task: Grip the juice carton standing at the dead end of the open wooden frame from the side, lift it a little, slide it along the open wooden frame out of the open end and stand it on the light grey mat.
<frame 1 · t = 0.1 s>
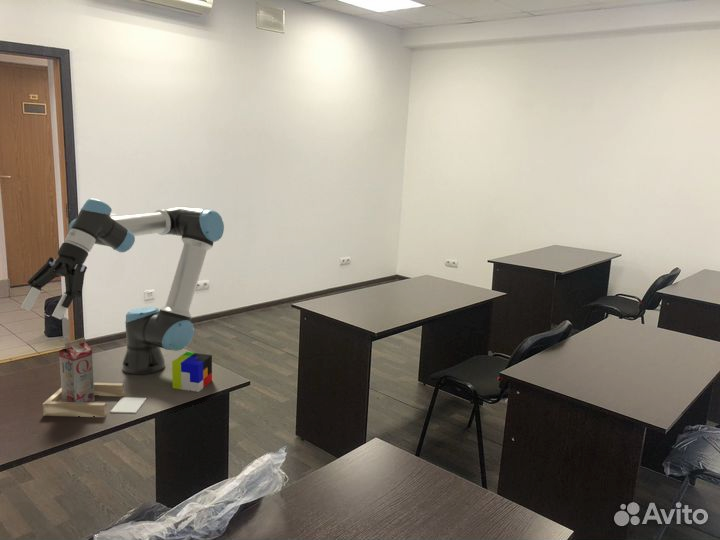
hand: (40, 313, 152), 36 cm above the table, tool tilted 35°, fingers open, 13 cm apart
juice carton: (78, 404, 175), resting in open wooden frame
mat: (129, 405, 176), on the table
open wooden frame: (78, 404, 175), on the table
puzzle toy: (192, 384, 195), on the table
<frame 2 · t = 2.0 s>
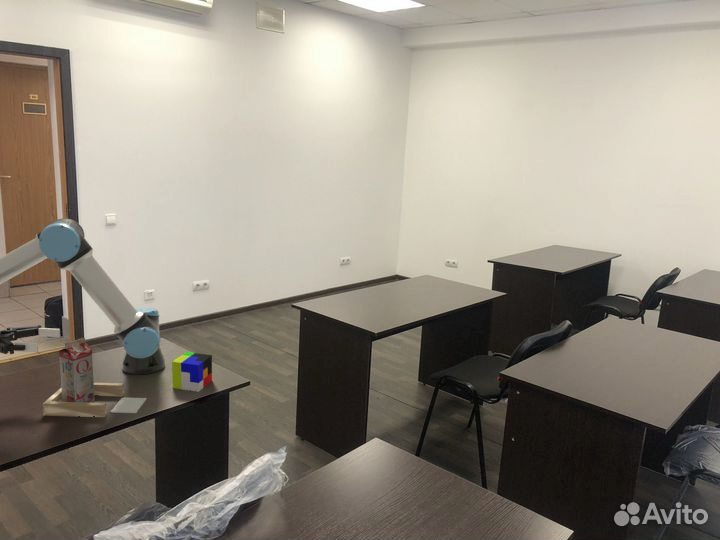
hand: (49, 339, 172), 21 cm above the table, tool horizontal, fingers open, 13 cm apart
nothing on the table moved.
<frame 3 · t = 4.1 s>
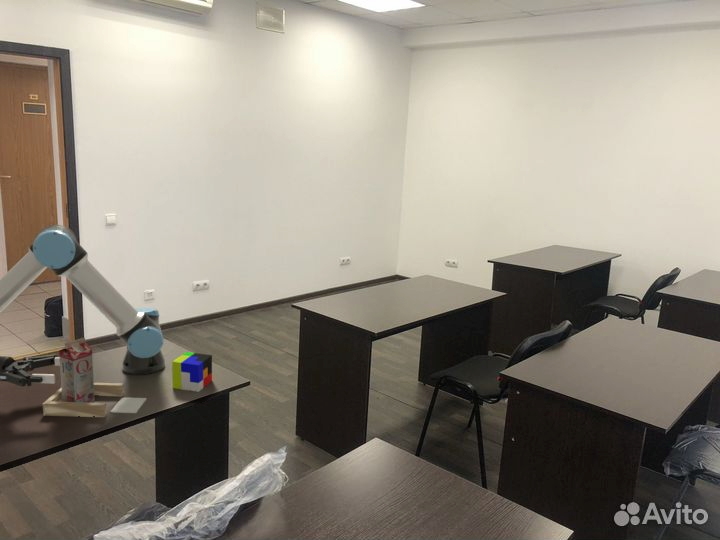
hand: (65, 370, 172), 12 cm above the table, tool horizontal, fingers open, 13 cm apart
nothing on the table moved.
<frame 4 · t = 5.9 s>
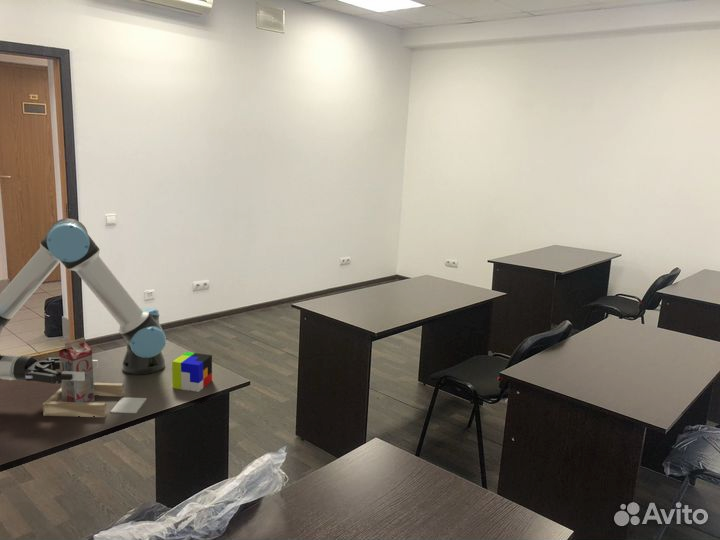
hand: (91, 370, 173), 12 cm above the table, tool horizontal, fingers closed on juice carton, 9 cm apart
juice carton: (78, 404, 175), resting in open wooden frame, touching gripper
everything else where it was.
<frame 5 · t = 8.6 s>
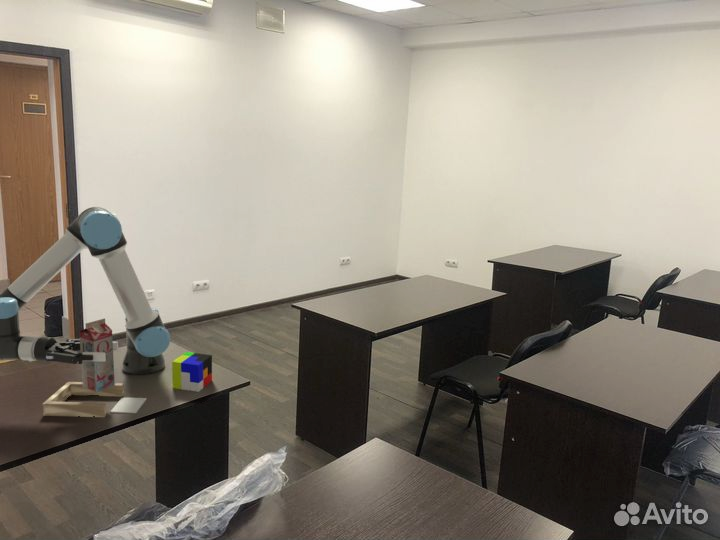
hand: (111, 351, 171), 19 cm above the table, tool horizontal, fingers closed on juice carton, 9 cm apart
juice carton: (98, 386, 173), point 7 cm above the table, touching gripper
everything else where it was.
when the fingers open (13 cm above the table, at t = 11.4 s): juice carton stays where it is, resting on mat.
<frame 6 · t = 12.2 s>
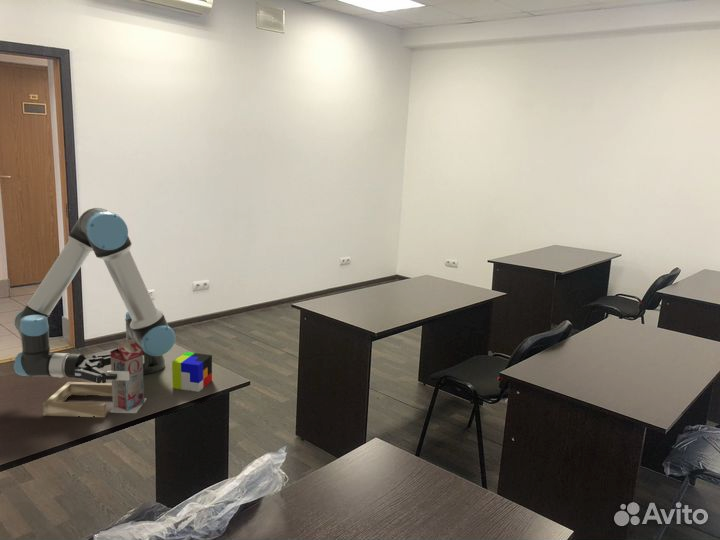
hand: (136, 367, 174), 13 cm above the table, tool horizontal, fingers open, 13 cm apart
juice carton: (128, 405, 176), resting on mat
everything else where it was.
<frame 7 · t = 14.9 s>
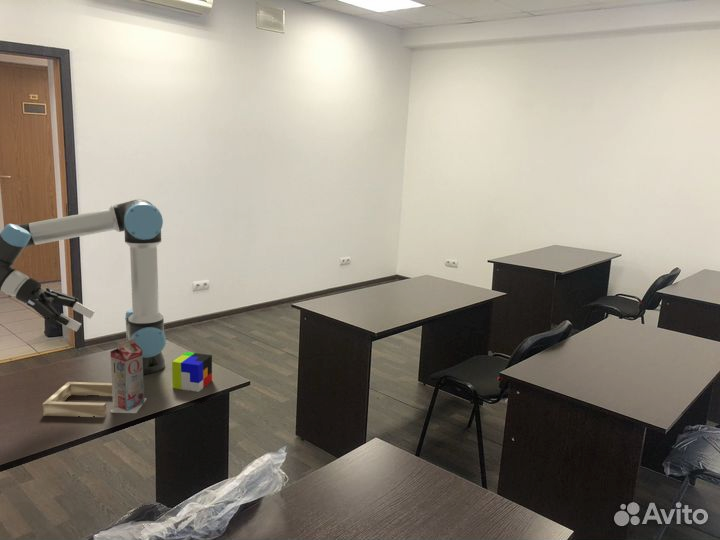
hand: (86, 321, 174), 27 cm above the table, tool tilted 60°, fingers open, 13 cm apart
nothing on the table moved.
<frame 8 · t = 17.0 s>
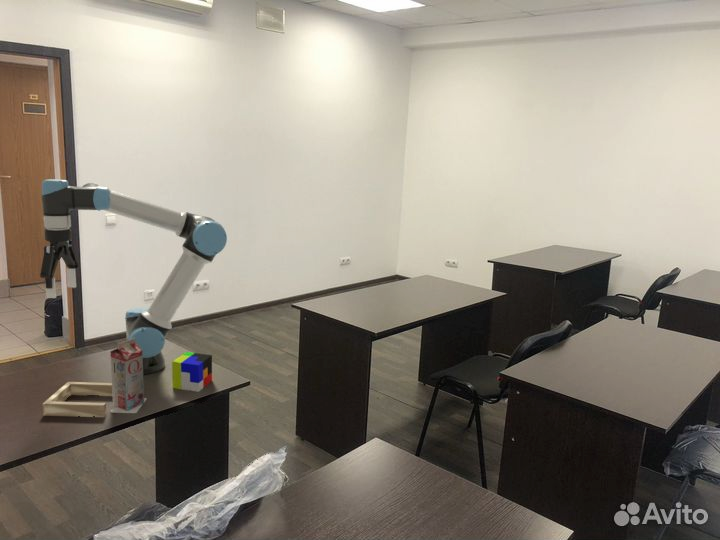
hand: (61, 292, 177), 35 cm above the table, tool pointing down, fingers open, 13 cm apart
nothing on the table moved.
at the end: juice carton inside the target area (0.1 cm from its centre), resting on mat; juice carton tilted 0°; the gripper is holding nothing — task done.
